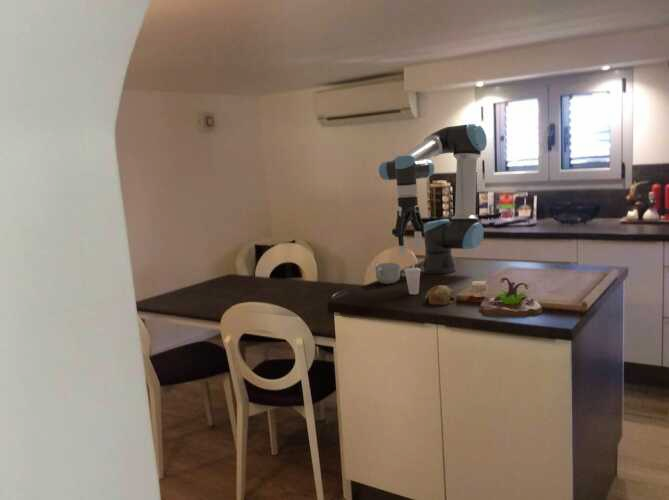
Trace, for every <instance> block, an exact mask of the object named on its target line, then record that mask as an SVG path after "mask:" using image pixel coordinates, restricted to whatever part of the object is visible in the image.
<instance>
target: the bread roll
mask: <svg viewBox="0 0 669 500" xmlns="http://www.w3.org/2000/svg"><path fill="white" fill-rule="evenodd" d="M424 298H425V301H426V302H427V303H428V304H429V305H434V306H443V305H444V306H445V305H446V306H447V305H451V304H453V302H454V301H455V298H456V296H455V293H454V291H453V290H452V288H451V287H449V286H448V285H443V284H441V285H440V284H439V285H435V286H434V287H433V286H432V287H431V288H430V289H429V290H428V291H427V292H426V295H425V296H424Z"/></svg>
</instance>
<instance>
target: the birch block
mask: <svg viewBox="0 0 669 500" xmlns="http://www.w3.org/2000/svg"><path fill="white" fill-rule="evenodd" d="M470 287H471V292H472V291H486V289H487V290H488V285H487V281H483V280H482V281H479V280H478V281H477V280H476V281H472V283H471V286H470Z"/></svg>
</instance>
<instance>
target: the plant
mask: <svg viewBox="0 0 669 500" xmlns="http://www.w3.org/2000/svg"><path fill="white" fill-rule="evenodd" d="M505 281H507V285H508V289H507V291H505V290H502V291H501V292H498V291H495V294H496V295H497V296H492V297H488V298H486V299H484V300H482V301H481V303H480V306H479V307H480V312H483V314H484V316H489V317H490V316H493V317H494V316H496V317H498V316H499V317H514V318H519V317H525V318H526V317H530V316H538V315H541V314H542V313H543V307H542V304H541V305H540V301H541V300H540V299H538V298H536V299H535V297H532V298H530V297H531V296H529V295H526V293H527V292H526V291H522V292H520V293H519V294H518V290H517V289H518V288H519V287H520V286H522V285H524V289H525V290H528V289H529V285H528V284H527V283H524V282H519V283H517V284H516V283H515V281H510V279H509V278H507V277H502V278H500V279H499V283H500V284H503V283H504V282H505ZM539 300H540V301H539Z"/></svg>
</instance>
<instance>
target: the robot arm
mask: <svg viewBox="0 0 669 500" xmlns="http://www.w3.org/2000/svg"><path fill="white" fill-rule="evenodd" d="M487 140H488V139H487V135H486V132H485V129H484V128H483V127H482V125H480V124H477V123H468V124H460V125H453V126H446V127H444V128H440V129H438V130H437V131H435V132H433V133H431V134H430V135H427V136H426V137H425V138H424V140H423V141H422V142H421V143H419V144H417V145H416V146H414V147H413V148H411V149H409V150H408V151H406V152H404V153H403V154H401V155H397V156H396V157H395V158H394V159H392V160H391V161H389V160H388V161H383V162H381V163H380V165H379V166H378V172H379V176H380V178H381V180H383V181H384V180H385V181H396V192H397V193H396V194H397V196H398V198H397V207H398V208H401V209H400V210H397V211H396V213H397V214H396V216H397V217H396V223H395V230H394V237H395V238H398V240H397V242H398V255H407V242H406V236H405V233H406V230H407V226H408V223H411V225H412V227H413V228H414V232H413V233H414V234H413V235H414V248H415V249H422V248H423V240H424V253H425V254H424V255H425V256H424V260H423V264H422V273H424V274H430V275H431V274H432V275H442V274H443V275H444V274H450V273H454V272H456V271H457V264H456V261H455V259H454V257H453V254H452V250H453V249H454V250H466V251H468V250H475V249H478V248H479V247H480V245H481V244H482V242H483V239H484V233H485V232H484V231H485V229H484V226H483V224H482V223H481V222H479V220H480V218H479V217H478V216H477V215H476V203H477V202H476V201H477V200H476V199H477V196H476V195H477V170H478V169H477V166H478V160H479V158H480V157H481V155H482V152H483V151H485V150H486V147H487ZM444 154H445V155H446V154H453V156H452V157H454V158H455V160H456V173H455V174H456V176H455V177H456V178H455V179H456V180H455V207H454V209H455V211H454V213H455V214H454V215H453V216H452V217H451V221H450V218H444V219H438V220H433V221H427V222H426V223H424V222H423V220H422V216H421V212H420V207H419V206H418V205H419V202H418V196H417V195H418V185H417V180H419V179H427V178H430V177H432V175H433V174H434V173H435V165H434V162H433V161H432V160H431V158H433V157H434V158H435V157H438V156H439V155H444ZM422 232H423V235H424V239H422V236H423V235H422Z"/></svg>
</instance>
